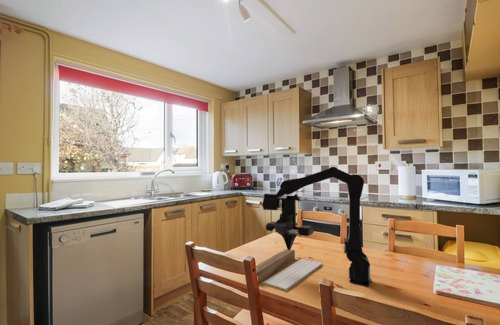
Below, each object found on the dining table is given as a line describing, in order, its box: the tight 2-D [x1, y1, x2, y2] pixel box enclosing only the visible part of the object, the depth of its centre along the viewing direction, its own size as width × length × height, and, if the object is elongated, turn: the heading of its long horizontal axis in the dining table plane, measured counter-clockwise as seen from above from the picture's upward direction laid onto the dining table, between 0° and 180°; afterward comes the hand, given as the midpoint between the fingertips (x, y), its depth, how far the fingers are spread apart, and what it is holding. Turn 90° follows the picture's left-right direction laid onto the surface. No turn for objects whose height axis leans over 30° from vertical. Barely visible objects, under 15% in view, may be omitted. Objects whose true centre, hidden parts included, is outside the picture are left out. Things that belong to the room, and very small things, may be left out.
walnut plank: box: [255, 248, 296, 284], centre depth 110 cm, size 5×32×4 cm, turn 146°
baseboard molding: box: [260, 256, 323, 292], centre depth 104 cm, size 31×3×12 cm
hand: (289, 249), depth 104 cm, fingers closed
